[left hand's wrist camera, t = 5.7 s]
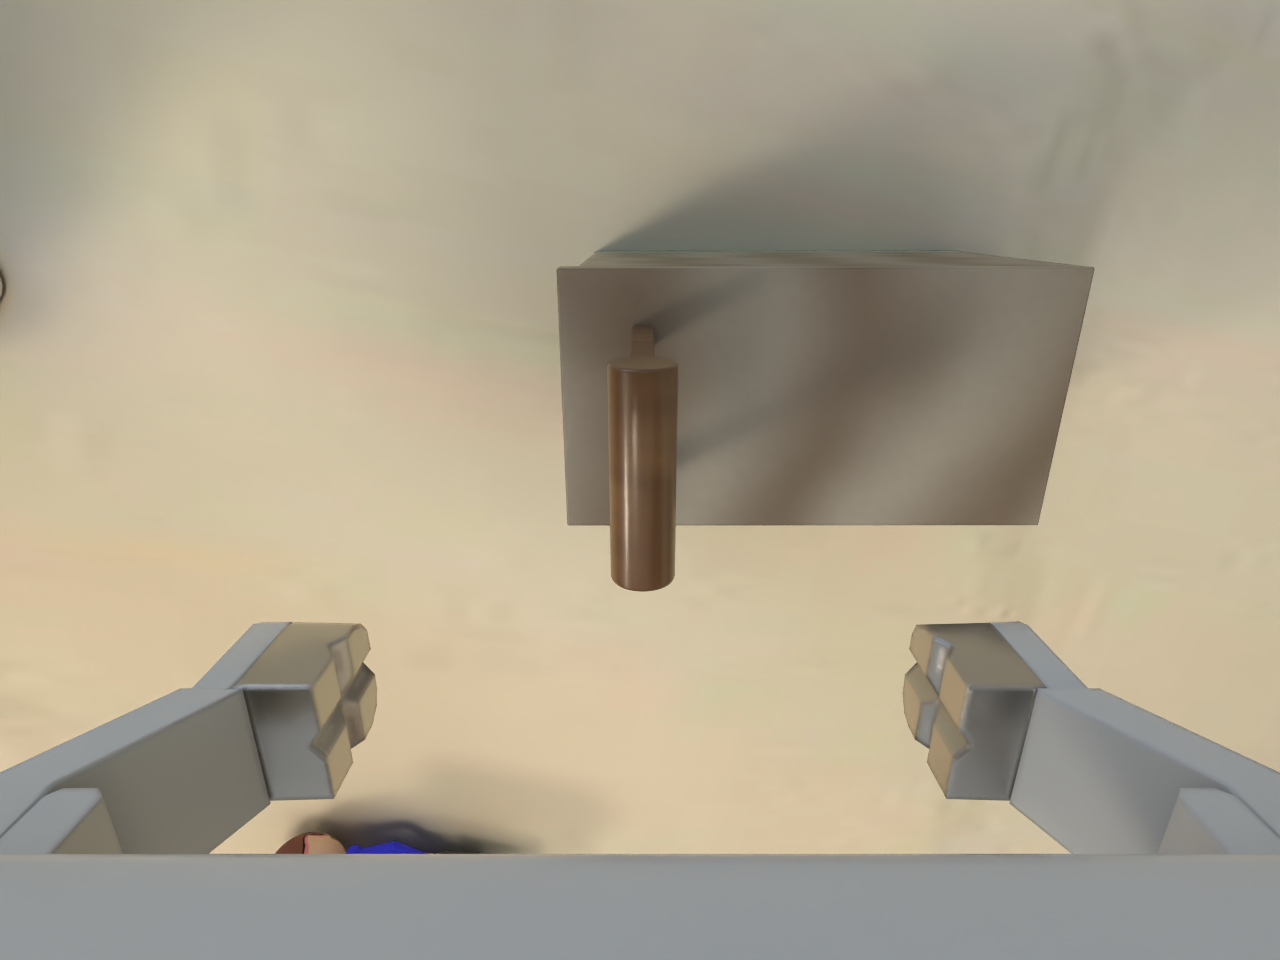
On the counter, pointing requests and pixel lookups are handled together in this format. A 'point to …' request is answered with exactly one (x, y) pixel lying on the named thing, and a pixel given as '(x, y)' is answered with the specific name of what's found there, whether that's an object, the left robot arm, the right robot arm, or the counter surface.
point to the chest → (804, 258)
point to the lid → (809, 397)
